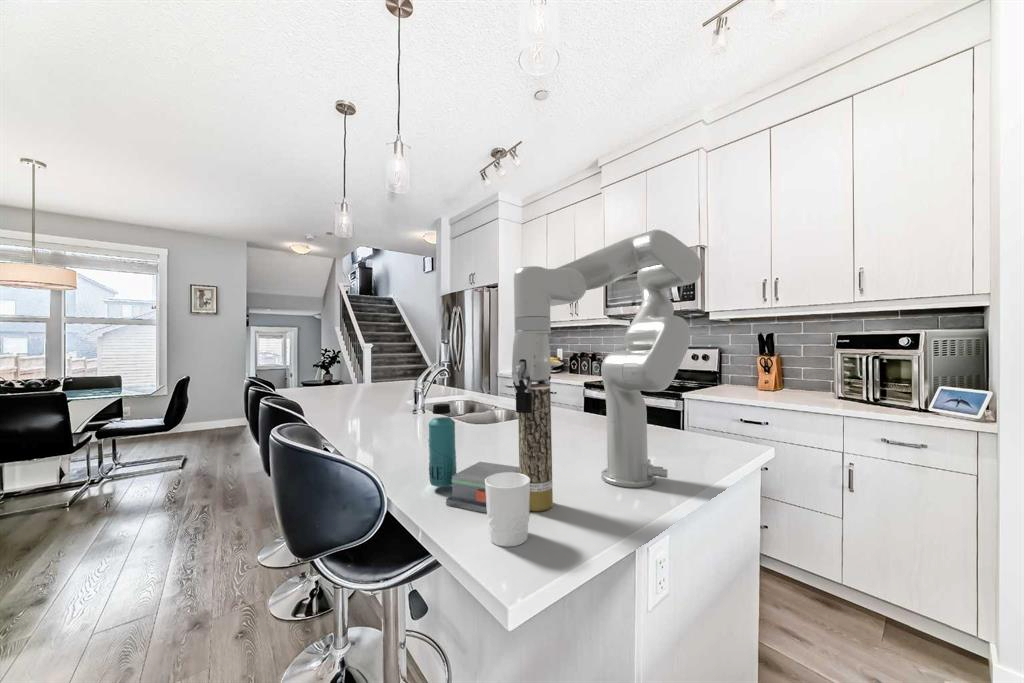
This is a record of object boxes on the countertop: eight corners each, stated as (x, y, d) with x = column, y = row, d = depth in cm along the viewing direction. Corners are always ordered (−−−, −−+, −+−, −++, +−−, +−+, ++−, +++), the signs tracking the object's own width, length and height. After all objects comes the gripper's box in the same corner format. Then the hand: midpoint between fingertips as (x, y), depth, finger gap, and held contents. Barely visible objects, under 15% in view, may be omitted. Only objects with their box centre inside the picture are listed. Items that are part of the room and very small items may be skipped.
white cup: (476, 537, 67) (475, 480, 68) (509, 522, 73) (508, 469, 73) (508, 554, 62) (506, 491, 62) (540, 536, 67) (539, 479, 67)
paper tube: (558, 503, 82) (555, 384, 82) (544, 515, 76) (541, 387, 76) (529, 497, 85) (527, 383, 85) (514, 508, 79) (511, 386, 80)
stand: (527, 493, 87) (527, 466, 87) (499, 516, 76) (499, 485, 76) (478, 485, 93) (478, 460, 93) (446, 505, 82) (445, 476, 82)
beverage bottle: (460, 483, 94) (458, 401, 95) (453, 494, 88) (451, 405, 88) (433, 483, 95) (432, 401, 95) (425, 493, 88) (423, 405, 89)
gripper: (533, 329, 90) (534, 402, 90) (496, 325, 75) (497, 414, 75) (563, 327, 87) (565, 404, 87) (531, 324, 72) (533, 417, 71)
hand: (533, 409), depth 81 cm, fingers open, 9 cm apart
